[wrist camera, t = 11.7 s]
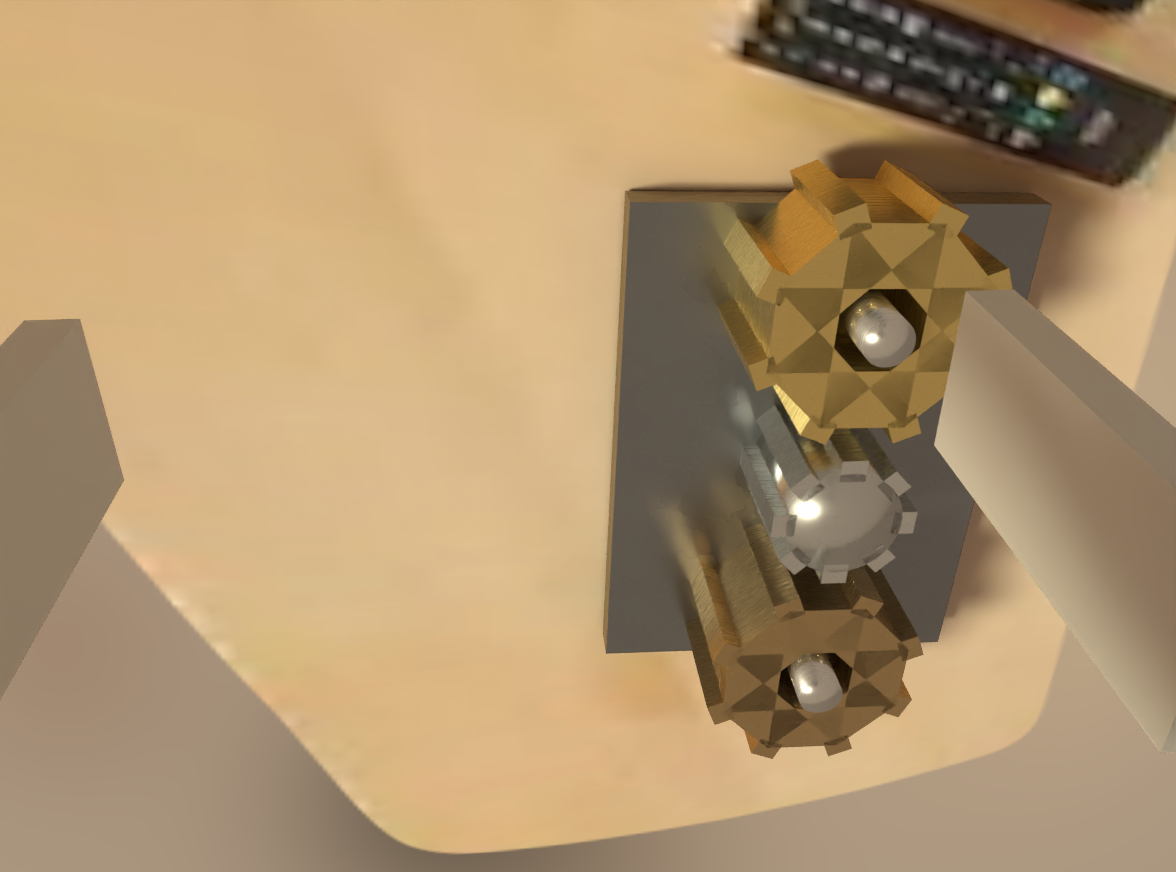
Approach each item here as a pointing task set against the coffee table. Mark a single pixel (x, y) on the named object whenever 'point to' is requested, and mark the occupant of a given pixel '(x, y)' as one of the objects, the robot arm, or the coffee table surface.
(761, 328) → the gear
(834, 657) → the seated gear
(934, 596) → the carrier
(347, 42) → the coffee table surface
